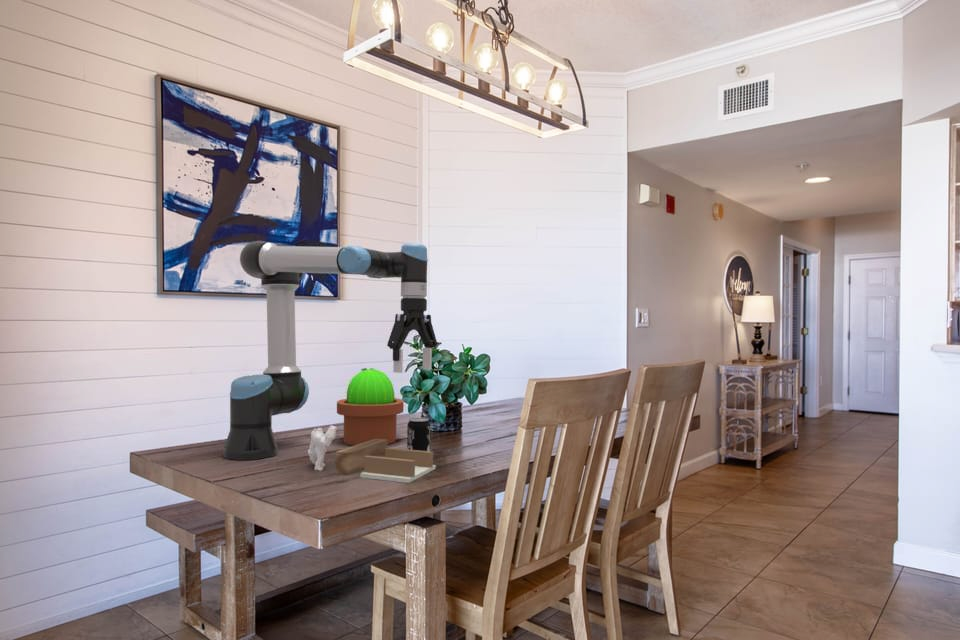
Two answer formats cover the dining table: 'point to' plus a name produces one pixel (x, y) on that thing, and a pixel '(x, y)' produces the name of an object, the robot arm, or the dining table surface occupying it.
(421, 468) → the rest stand
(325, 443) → the figurine
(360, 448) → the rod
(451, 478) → the dining table surface
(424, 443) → the beverage can
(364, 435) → the potted cactus
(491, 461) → the dining table surface
